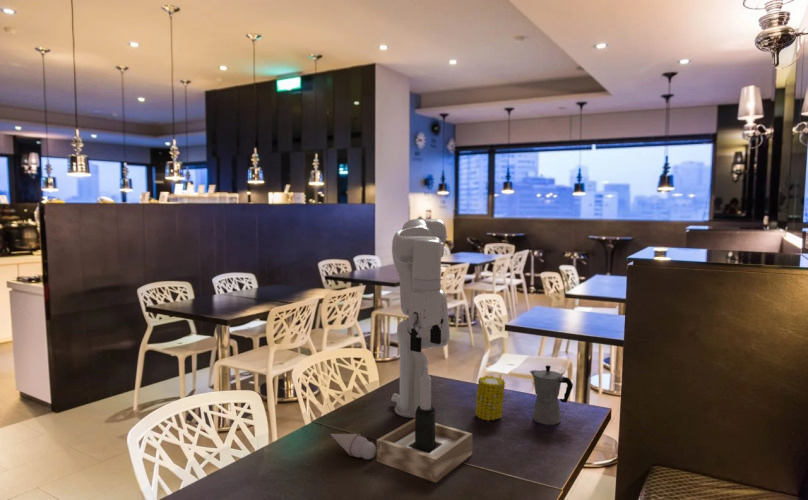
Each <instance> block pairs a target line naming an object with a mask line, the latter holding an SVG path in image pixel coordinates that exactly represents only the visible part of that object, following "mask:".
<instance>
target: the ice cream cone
mask: <svg viewBox="0 0 808 500" xmlns="http://www.w3.org/2000/svg"><path fill="white" fill-rule="evenodd" d="M330 436H332V438H333V439H334V440H335V441H336V443H338V444H339V445H340V447H341V448H342V449H344V451H345V452H346V453H347V454H348V455H349V456H351V457H354V458H357V459H358V458H362V459H364V460H371V459H372V458H374V457H375V456H376V455H377V446H376V445H375V444H374V442H372V441H369V440H368V438H366V436H365V437H364V436H362V435H361V434H360V433H330Z"/></svg>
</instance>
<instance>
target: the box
mask: <svg viewBox="0 0 808 500" xmlns="http://www.w3.org/2000/svg"><path fill="white" fill-rule="evenodd" d="M472 455H473V433H471V432H468V431H465V430H461V429H459V428H454V427H451V426H447V425H444V424H440V423H437V422H435V450H433V451H432V452H430V453H426V452H423V451H420V450H417V449H415V418H412V419H411V420H409V421H408V422H405V423H404V424H402V425H400V426H399V427H397V428H395V429H393V430H391V431H390V432H389V433H386V434H385V435H382V436H381V437H379V438H377V439H376V462H378V463H381V464H382V465H385V466H389V467H390V468H391V467H392V468H394V469H397V470H400V471H403V472H405V473H407V474H411V475H412V476H413V475H414V476H416V477H418V478H422V479H424V480H427V481H430V482H432V483H438V482H439V481H440V480H442V479H443V478H445V476H446V475H448V474H449V473H451V471H453V470H454V469H456V468H457V467H458V466H460V465H461V464H462V463H463V462H464V461H466V460H467V459H468V458H470V456H472Z"/></svg>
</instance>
